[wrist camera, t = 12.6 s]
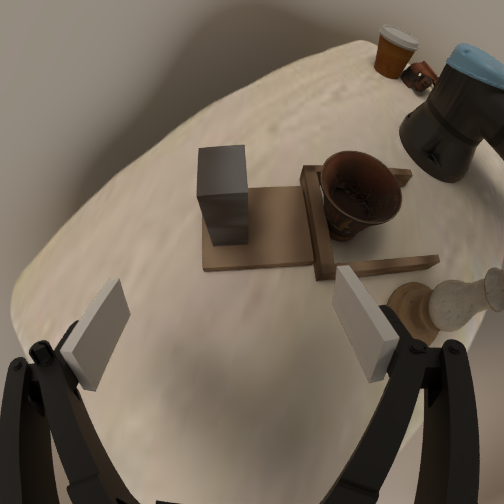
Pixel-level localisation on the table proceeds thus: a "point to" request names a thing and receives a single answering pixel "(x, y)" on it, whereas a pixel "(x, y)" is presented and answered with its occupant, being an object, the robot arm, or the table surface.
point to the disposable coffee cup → (394, 51)
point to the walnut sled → (273, 221)
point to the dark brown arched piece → (421, 81)
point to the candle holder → (446, 304)
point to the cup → (357, 193)
